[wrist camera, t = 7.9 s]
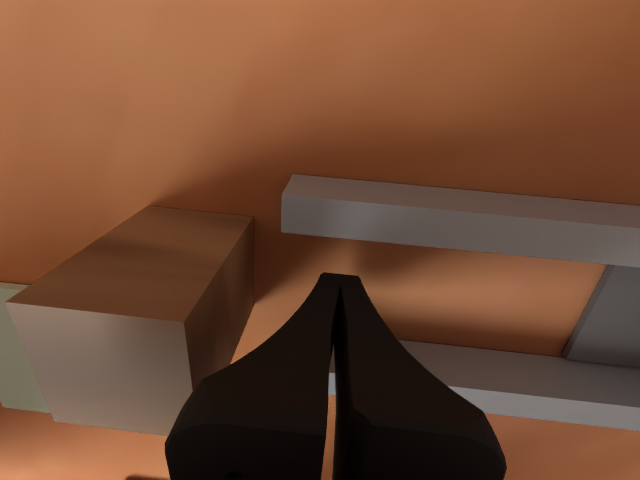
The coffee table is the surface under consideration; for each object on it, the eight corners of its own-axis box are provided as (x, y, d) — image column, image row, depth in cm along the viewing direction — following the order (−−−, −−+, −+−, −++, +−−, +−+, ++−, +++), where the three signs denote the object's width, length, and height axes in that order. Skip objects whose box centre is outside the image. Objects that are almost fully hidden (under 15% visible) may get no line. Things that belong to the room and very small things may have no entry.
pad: (153, 418, 18) (149, 425, 18) (10, 400, 19) (3, 407, 18) (126, 295, 15) (121, 301, 14) (-51, 276, 15) (-60, 281, 15)
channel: (667, 390, 15) (742, 467, 12) (286, 348, 15) (272, 411, 13) (794, 219, 11) (946, 271, 8) (293, 174, 12) (274, 207, 9)
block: (254, 303, 15) (198, 439, 9) (162, 293, 15) (53, 422, 9) (253, 216, 13) (183, 322, 7) (148, 205, 13) (4, 301, 8)
